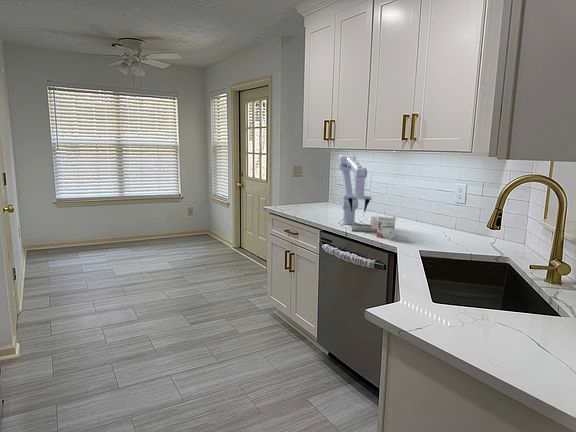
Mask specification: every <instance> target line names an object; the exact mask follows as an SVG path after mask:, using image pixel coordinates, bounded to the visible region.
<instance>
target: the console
mask: <svg viewBox="0 0 576 432" xmlns="http://www.w3.org/2000/svg"><path fill="white" fill-rule="evenodd" d="M351 232H354V233H355V232H358V233H371V234H373V233H374V234H375V233H376V234H377V230H375V229H372V226H371V225H370V224H365V223H364V224H363V223H361V224H360V223H355V224H352V225H351Z"/></svg>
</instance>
